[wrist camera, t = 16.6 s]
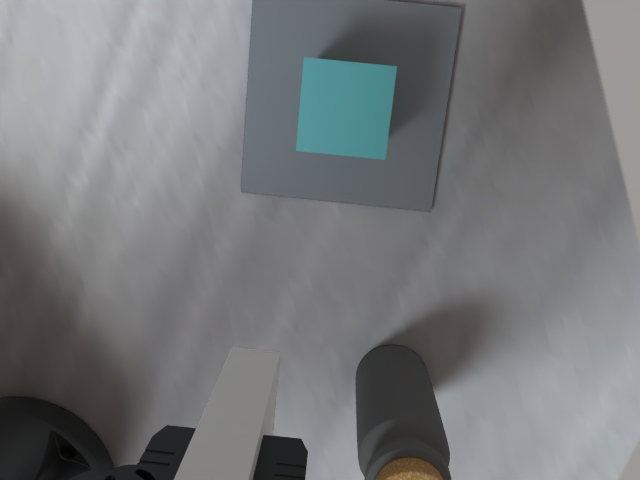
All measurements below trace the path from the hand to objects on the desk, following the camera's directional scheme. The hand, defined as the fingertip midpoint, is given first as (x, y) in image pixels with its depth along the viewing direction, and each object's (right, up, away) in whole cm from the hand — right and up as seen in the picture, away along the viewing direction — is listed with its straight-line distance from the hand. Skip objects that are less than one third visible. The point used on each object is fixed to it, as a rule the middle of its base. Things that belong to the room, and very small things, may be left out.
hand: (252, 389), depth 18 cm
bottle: (+8, -6, +29) cm, 31 cm away
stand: (+4, +14, +23) cm, 28 cm away
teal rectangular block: (+4, +14, +23) cm, 27 cm away
